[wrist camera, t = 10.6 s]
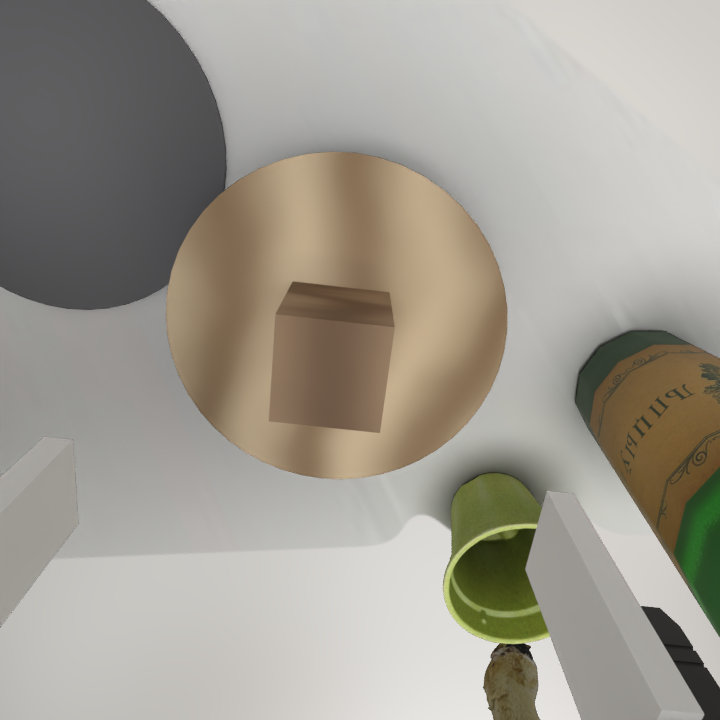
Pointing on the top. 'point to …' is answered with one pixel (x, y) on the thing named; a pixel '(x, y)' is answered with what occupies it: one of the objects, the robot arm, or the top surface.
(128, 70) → the mat
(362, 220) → the lid
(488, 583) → the plant pot
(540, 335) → the top surface
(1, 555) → the robot arm
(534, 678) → the mushroom
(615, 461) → the bottle
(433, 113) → the top surface
